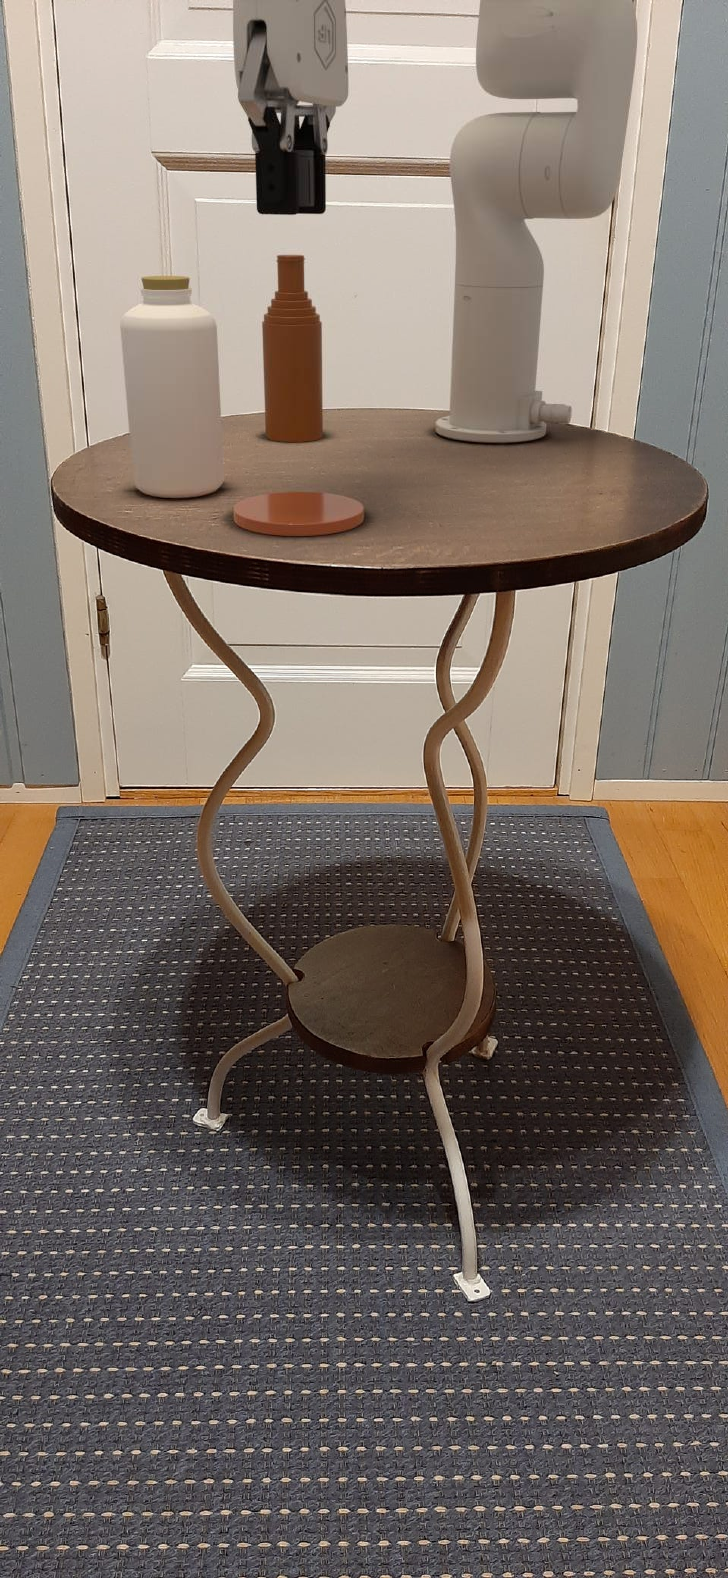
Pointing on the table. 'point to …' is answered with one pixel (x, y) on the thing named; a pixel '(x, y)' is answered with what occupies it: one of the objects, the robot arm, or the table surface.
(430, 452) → the table surface
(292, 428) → the sauce bottle
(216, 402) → the potion bottle
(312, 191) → the cap
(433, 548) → the table surface
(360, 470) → the table surface
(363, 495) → the table surface
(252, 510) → the orange round coaster
